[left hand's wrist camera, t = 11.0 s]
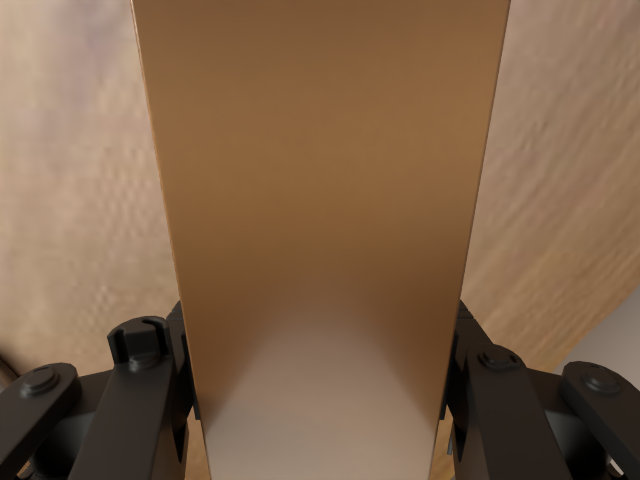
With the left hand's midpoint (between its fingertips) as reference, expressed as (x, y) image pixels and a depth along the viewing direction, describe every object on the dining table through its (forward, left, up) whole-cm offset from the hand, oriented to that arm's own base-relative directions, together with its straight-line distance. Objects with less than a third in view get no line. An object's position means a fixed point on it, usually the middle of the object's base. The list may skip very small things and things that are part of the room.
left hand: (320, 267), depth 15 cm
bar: (+14, +10, -1) cm, 18 cm away
